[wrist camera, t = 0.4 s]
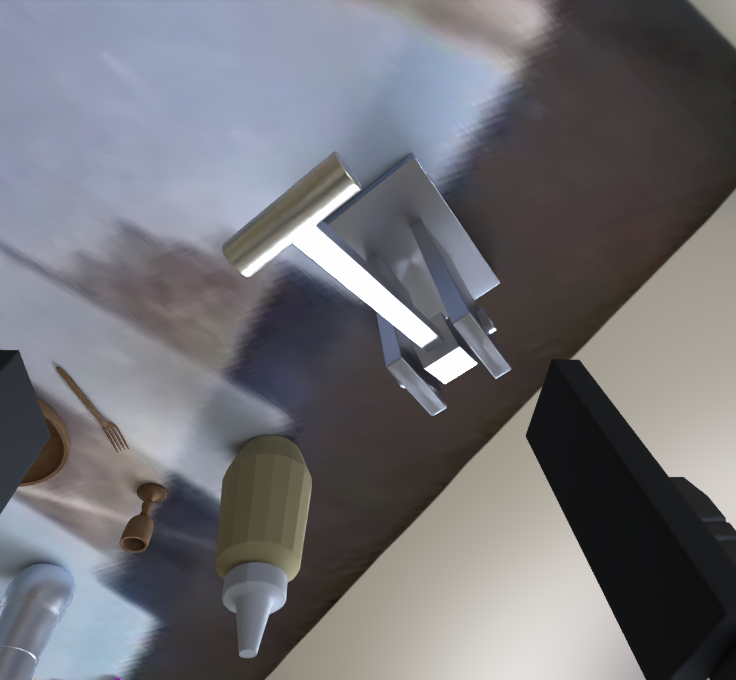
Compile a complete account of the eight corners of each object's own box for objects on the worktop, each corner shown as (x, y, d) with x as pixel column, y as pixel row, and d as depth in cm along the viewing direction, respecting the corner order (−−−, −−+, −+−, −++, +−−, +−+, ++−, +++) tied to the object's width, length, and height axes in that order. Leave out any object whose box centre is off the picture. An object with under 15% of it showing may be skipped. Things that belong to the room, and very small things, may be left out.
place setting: (47, 342, 39) (7, 388, 34) (177, 495, 50) (161, 547, 45) (-136, 405, 41) (-199, 457, 36) (27, 540, 52) (-4, 594, 47)
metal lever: (216, 227, 17) (227, 274, 16) (325, 134, 16) (348, 177, 14) (408, 363, 29) (423, 397, 28) (480, 317, 28) (500, 350, 26)
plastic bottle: (20, 586, 56) (-109, 827, 39) (17, 551, 53) (-125, 798, 36) (81, 592, 57) (-18, 826, 41) (82, 558, 54) (-25, 798, 37)
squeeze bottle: (304, 487, 51) (296, 683, 36) (224, 478, 49) (181, 679, 34) (320, 431, 47) (319, 625, 31) (234, 418, 45) (189, 617, 30)
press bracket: (311, 231, 36) (305, 340, 23) (411, 152, 33) (464, 227, 21) (403, 336, 42) (438, 470, 29) (495, 276, 39) (576, 393, 27)
